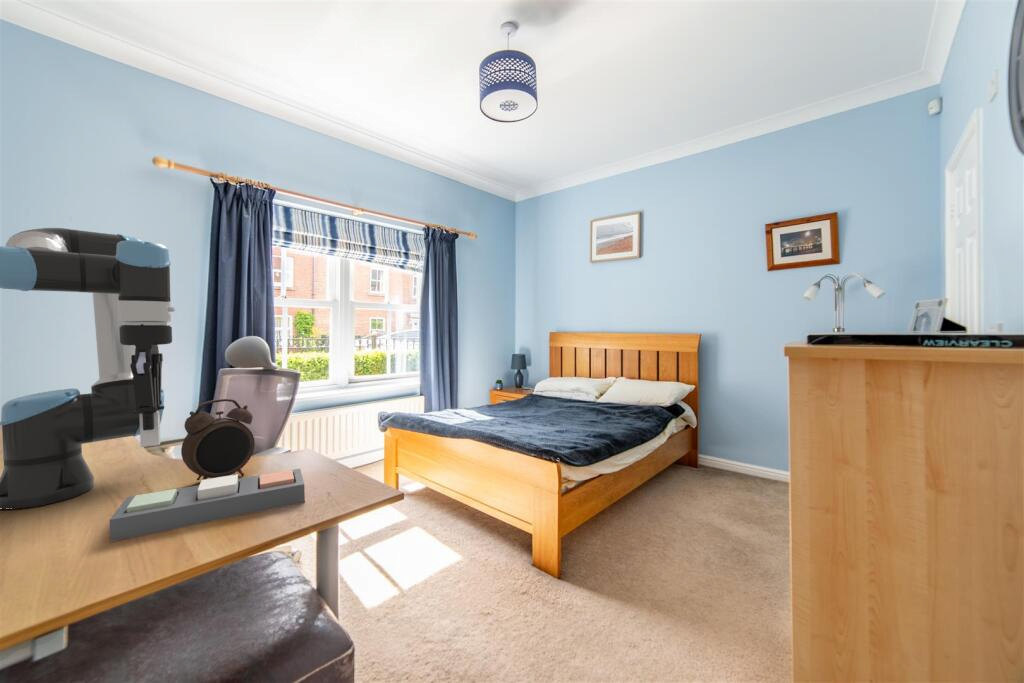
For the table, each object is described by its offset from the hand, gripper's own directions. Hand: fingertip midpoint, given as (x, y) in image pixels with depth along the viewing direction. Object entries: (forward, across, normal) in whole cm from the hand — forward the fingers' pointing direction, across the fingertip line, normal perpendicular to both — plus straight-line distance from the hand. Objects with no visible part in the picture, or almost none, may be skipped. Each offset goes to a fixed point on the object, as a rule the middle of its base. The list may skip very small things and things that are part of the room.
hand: (150, 444), depth 80 cm
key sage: (+13, 0, 0) cm, 13 cm away
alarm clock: (+16, +20, -10) cm, 27 cm away
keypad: (+15, 0, -11) cm, 19 cm away
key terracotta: (+13, 0, -21) cm, 25 cm away
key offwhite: (+12, 0, -11) cm, 16 cm away
